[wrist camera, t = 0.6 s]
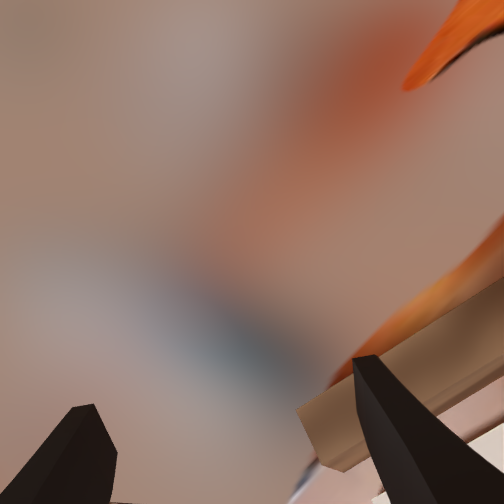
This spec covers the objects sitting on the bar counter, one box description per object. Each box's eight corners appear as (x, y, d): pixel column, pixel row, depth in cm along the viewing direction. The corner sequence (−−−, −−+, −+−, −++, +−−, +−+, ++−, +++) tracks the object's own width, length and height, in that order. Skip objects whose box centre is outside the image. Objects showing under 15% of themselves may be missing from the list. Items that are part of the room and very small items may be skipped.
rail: (594, 321, 25) (607, 289, 22) (345, 472, 27) (321, 465, 24) (545, 281, 27) (551, 246, 24) (319, 423, 29) (295, 410, 26)
